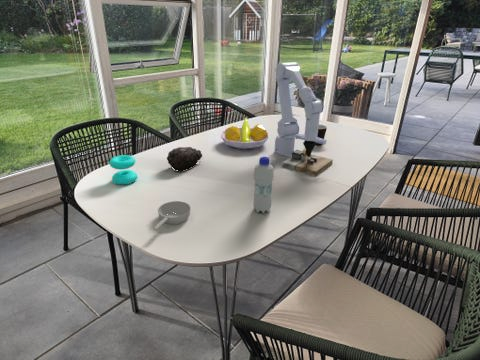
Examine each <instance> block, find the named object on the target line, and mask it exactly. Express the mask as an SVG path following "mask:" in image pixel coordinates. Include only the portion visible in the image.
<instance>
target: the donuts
mask: <svg viewBox="0 0 480 360" xmlns="http://www.w3.org/2000/svg"><path fill="white" fill-rule="evenodd" d="M108 163H109V166H110V167H111V168H112V169H115V170H118V171H117V172H115V173H114V174H113V175H112V176H111V177H112V178H111V180H112V182H113V183H114V184H116V185H119V184H127V185H130V184H129V183H131V184H133V183H134V181H135V180H136V179H137V180H138V173H137V172H135V171H133V170H131V169H130V168H132V167H133V166H134V165H135V164H136V159H135V157H134V156H132V155H128V154H123V155H122V154H121V155H116V156H113V157H112V158H110V160H109V162H108ZM129 169H130V170H129ZM137 180H136V181H137ZM136 181H135V182H136ZM132 182H133V183H132Z"/></svg>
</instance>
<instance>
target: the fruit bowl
mask: <svg viewBox="0 0 480 360" xmlns="http://www.w3.org/2000/svg"><path fill="white" fill-rule="evenodd" d="M220 138H221V139H222V141H223V142H224V143H225V144H226V146H229V147H232V148H236V149H237V150H238V149H239V150H243V149H244V150H245V149H247V150H248V149H255V148H258V147H262V146H263V145H264V144H266V142H267V141H268V140H269V138H270V135H269V132H268V131H267V129H266V128H265V127H264V126H263V125H262V124H256V125H254V127H252V128H251V127H250V125H249V122H248V119H247V117H244V121H243V123H242V126H241V127H237V126H234V125H231V126H229V127H228V128H225V130H223V131H221V133H220Z"/></svg>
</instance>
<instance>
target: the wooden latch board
mask: <svg viewBox="0 0 480 360" xmlns="http://www.w3.org/2000/svg"><path fill="white" fill-rule="evenodd" d="M311 157H315V158H317V162H315V161H314V164H310V163H307V159H310V158H311ZM307 159H306V160H302V159H300V160H295V159H292V156H290V157H288V158H287V159H286V160H283V161H282V164H281V165H282V167H283V168H287V169H291V170H295V171H297V172H298V171H299V172H301V173H305V174H308V175H312V176H316V177H317V175H319V174H320V173H322V172H323V171H324V170H325V169H327V168H328V167H330V166H331V165H332V164H333V161H334V160H333V159H332V158H327V157H324V156H319V155H316V154H312V153H311V156H309V157H307Z"/></svg>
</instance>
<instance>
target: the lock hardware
mask: <svg viewBox="0 0 480 360" xmlns="http://www.w3.org/2000/svg"><path fill="white" fill-rule="evenodd" d="M302 154H303V150H300V149H294V152H292V156H291V157H292V159H295V160H300V155H302ZM314 161H315V162H317V158H315V157H311V158H310V159H307V163H310V164H314Z"/></svg>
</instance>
